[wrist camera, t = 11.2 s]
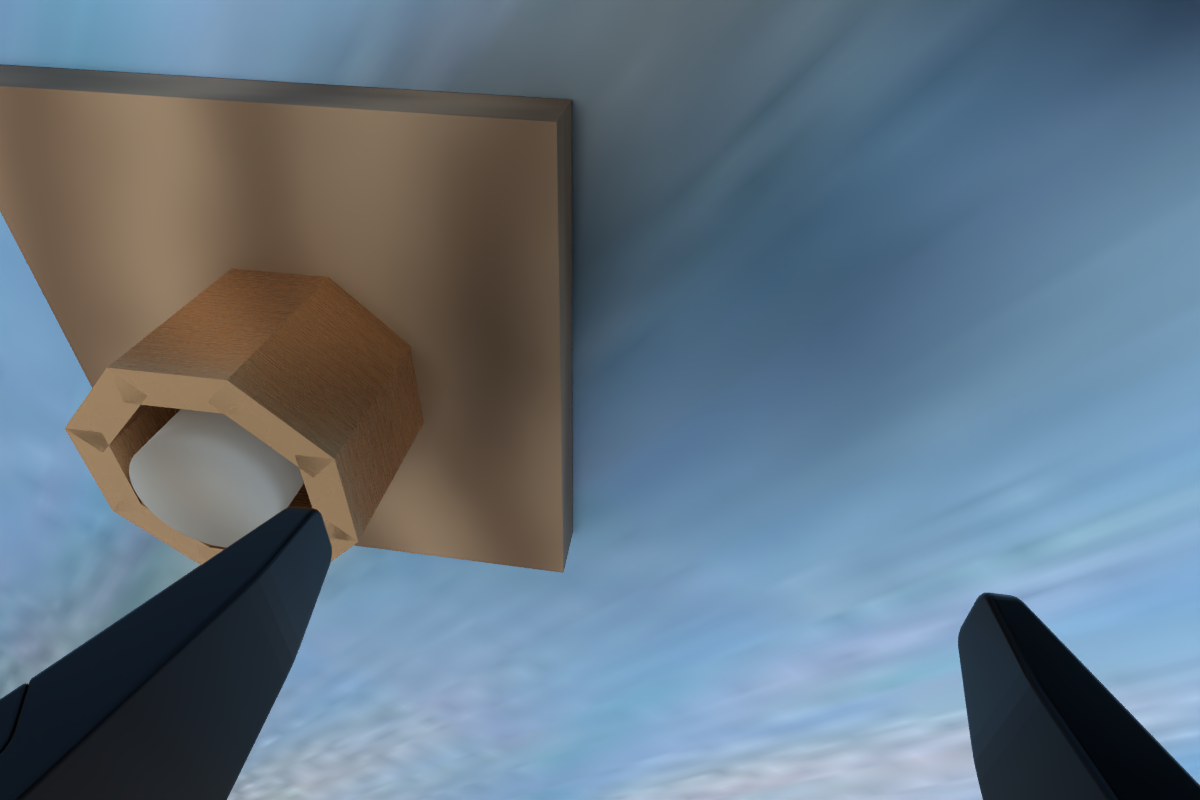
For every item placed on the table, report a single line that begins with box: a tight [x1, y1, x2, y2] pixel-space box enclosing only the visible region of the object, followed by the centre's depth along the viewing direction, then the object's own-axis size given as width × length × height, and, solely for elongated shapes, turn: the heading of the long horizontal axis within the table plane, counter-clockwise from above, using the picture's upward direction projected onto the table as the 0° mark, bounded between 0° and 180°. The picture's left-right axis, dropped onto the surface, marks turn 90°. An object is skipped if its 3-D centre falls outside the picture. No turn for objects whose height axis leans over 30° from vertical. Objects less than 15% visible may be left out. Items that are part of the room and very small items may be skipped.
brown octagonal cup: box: [65, 269, 424, 565], centre depth 20 cm, size 7×7×5 cm
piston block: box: [0, 65, 573, 572], centre depth 20 cm, size 16×16×8 cm
